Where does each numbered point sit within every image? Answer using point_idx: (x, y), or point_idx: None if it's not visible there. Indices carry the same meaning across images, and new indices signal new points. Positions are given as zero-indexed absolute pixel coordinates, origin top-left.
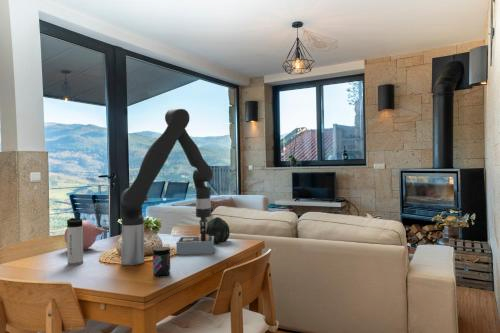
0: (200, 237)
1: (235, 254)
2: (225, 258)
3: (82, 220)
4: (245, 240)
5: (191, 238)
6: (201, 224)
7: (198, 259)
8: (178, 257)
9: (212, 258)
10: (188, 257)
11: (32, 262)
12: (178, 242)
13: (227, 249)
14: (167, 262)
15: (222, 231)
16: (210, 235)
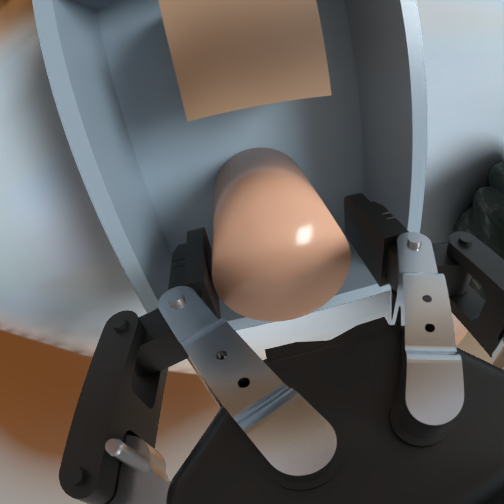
0: (216, 237)
1: (177, 371)
2: (87, 350)
3: None
4: (463, 325)
5: (312, 69)
6: (77, 461)
7: (8, 237)
8: (5, 79)
9: (58, 301)
10: (19, 151)
11: None
12: (35, 7)
13: (292, 320)
14: None
15: None
16: (488, 221)
